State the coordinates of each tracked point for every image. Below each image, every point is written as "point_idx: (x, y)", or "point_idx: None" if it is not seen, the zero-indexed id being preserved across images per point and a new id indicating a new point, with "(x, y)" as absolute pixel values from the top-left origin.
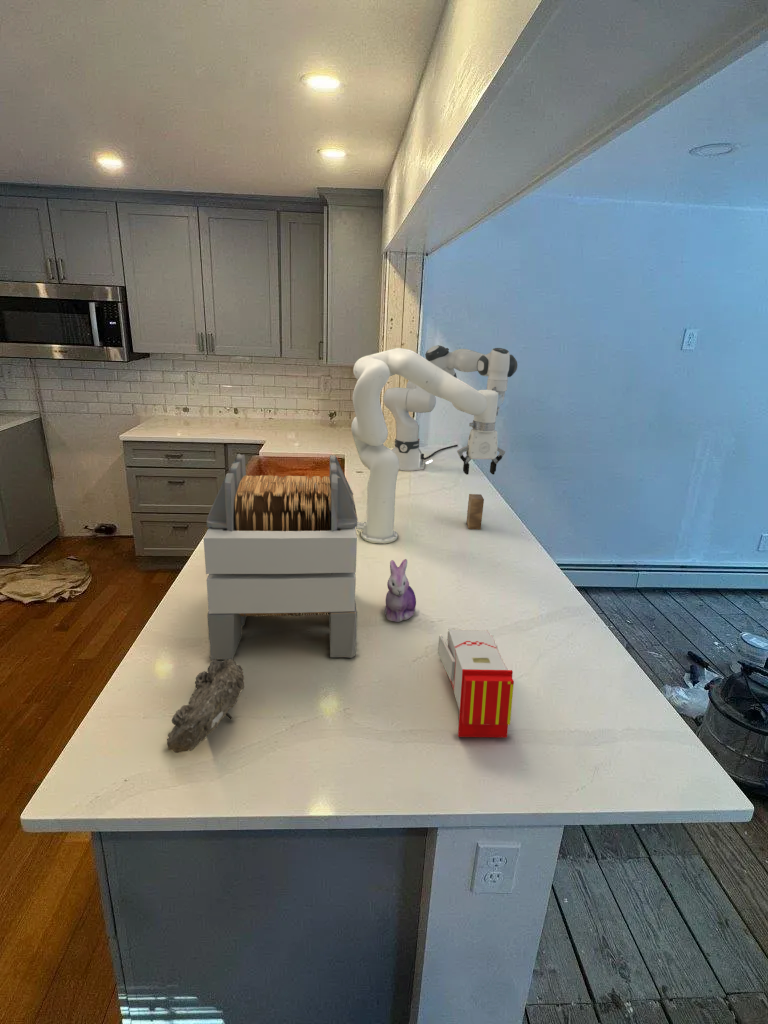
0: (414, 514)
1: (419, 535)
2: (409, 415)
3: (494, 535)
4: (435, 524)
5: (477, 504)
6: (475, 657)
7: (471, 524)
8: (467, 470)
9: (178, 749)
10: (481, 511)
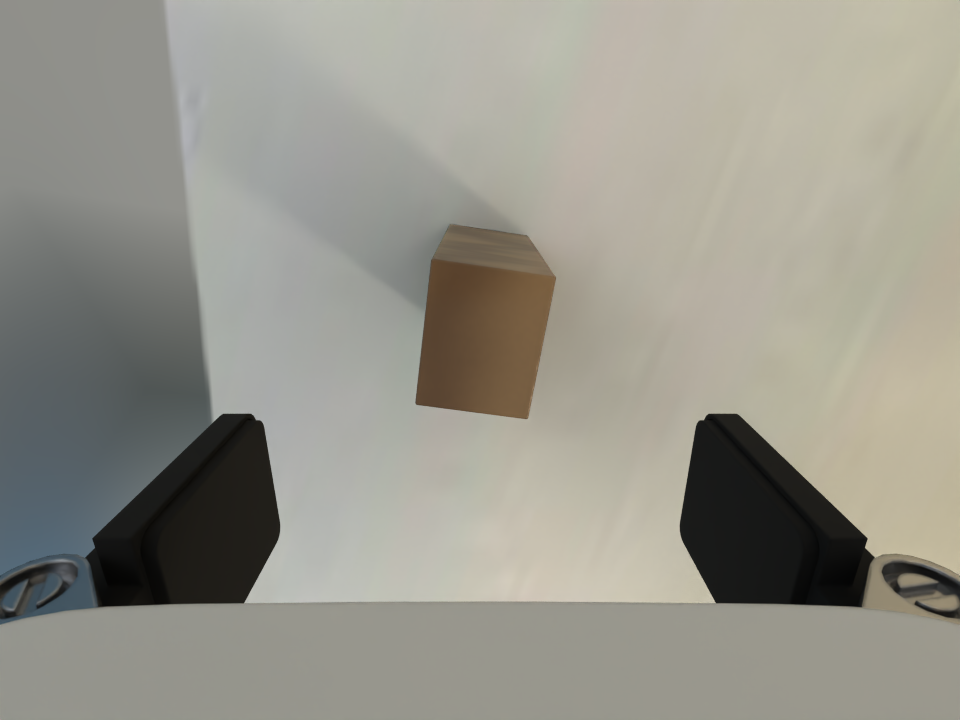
0: None
1: (893, 142)
2: None
3: (386, 112)
4: (707, 326)
5: (490, 258)
6: None
7: (514, 237)
8: (764, 445)
9: None
10: (451, 241)
